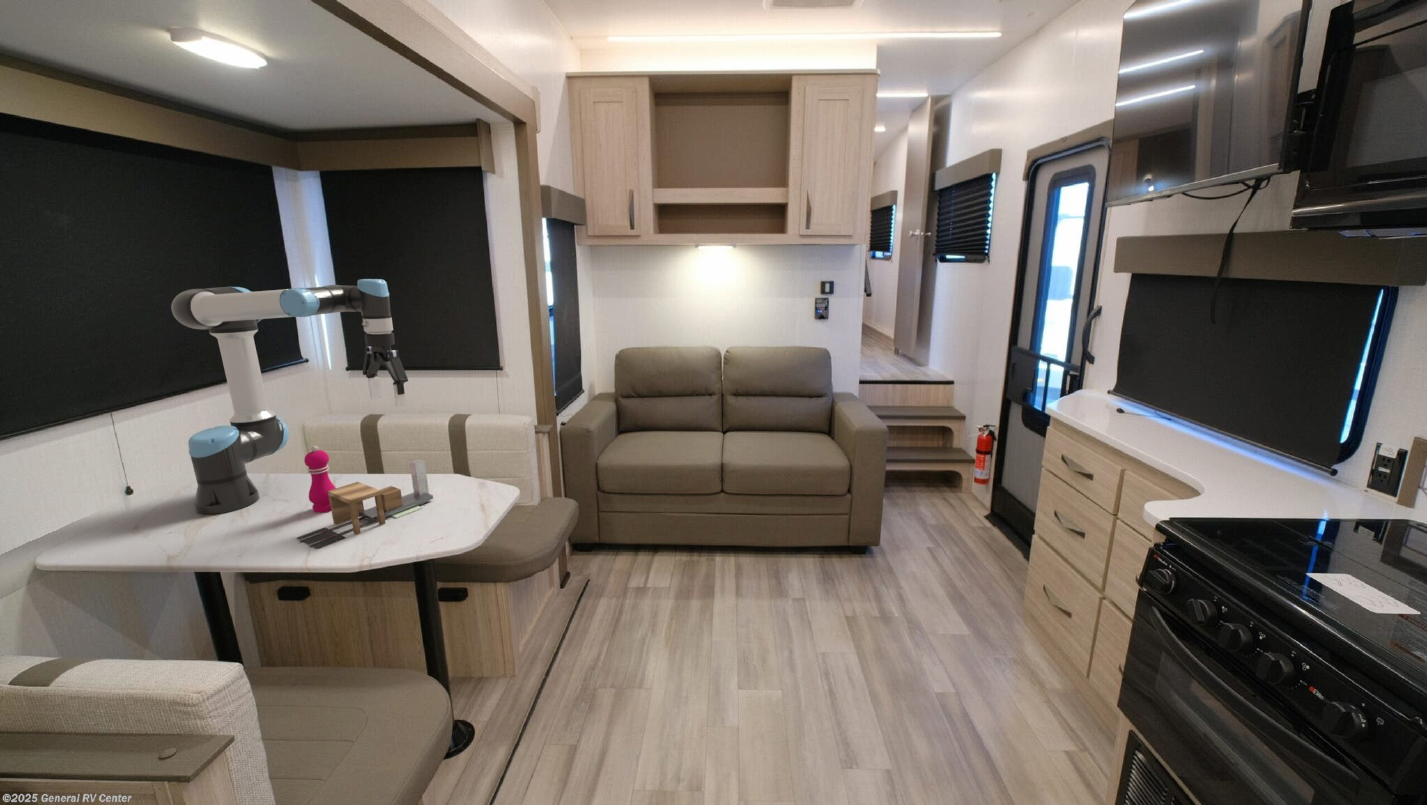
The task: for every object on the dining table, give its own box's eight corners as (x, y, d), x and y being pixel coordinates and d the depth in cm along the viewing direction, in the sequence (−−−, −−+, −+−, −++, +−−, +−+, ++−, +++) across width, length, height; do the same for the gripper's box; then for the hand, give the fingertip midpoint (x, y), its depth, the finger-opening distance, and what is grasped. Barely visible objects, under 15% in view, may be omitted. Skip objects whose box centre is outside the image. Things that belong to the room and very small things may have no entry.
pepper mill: (325, 515, 168) (314, 451, 163) (305, 512, 169) (293, 449, 164) (345, 504, 174) (335, 443, 169) (325, 502, 176) (314, 441, 171)
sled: (359, 515, 165) (353, 476, 162) (420, 493, 181) (415, 457, 178) (373, 521, 162) (366, 481, 159) (433, 498, 177) (428, 461, 174)
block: (376, 507, 168) (374, 491, 167) (393, 501, 172) (391, 485, 171) (386, 511, 166) (383, 495, 165) (402, 504, 170) (400, 489, 169)
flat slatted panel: (297, 538, 154) (296, 537, 154) (325, 528, 160) (324, 527, 160) (317, 549, 148) (317, 548, 148) (345, 538, 154) (345, 537, 154)
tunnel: (333, 524, 162) (327, 491, 159) (362, 513, 169) (357, 481, 166) (356, 534, 156) (350, 500, 153) (385, 523, 162) (380, 490, 160)
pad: (375, 509, 171) (375, 508, 171) (401, 500, 178) (401, 499, 178) (396, 518, 166) (396, 517, 166) (422, 508, 172) (422, 507, 172)
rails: (299, 541, 152) (299, 539, 152) (414, 499, 179) (413, 497, 178) (310, 547, 149) (310, 545, 149) (425, 503, 176) (424, 502, 175)
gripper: (343, 330, 172) (353, 398, 177) (390, 337, 159) (399, 410, 165) (368, 327, 178) (377, 393, 183) (415, 334, 166) (423, 404, 171)
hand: (388, 401), depth 174 cm, fingers open, 13 cm apart
